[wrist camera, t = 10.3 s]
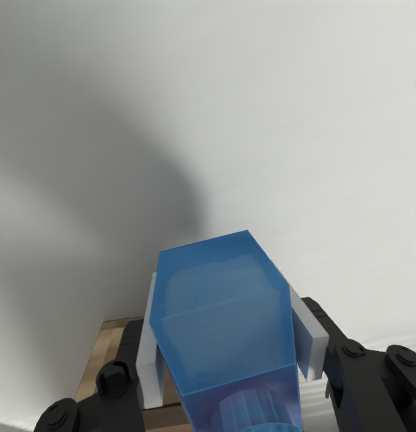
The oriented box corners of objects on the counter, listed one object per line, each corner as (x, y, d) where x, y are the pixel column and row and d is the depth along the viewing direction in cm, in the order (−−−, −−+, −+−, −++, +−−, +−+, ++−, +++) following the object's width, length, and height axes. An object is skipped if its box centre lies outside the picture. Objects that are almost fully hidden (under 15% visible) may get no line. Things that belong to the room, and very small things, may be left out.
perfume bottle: (247, 229, 15) (435, 476, 4) (258, 299, 18) (402, 586, 6) (159, 251, 15) (107, 582, 4) (182, 319, 17) (190, 658, 6)
